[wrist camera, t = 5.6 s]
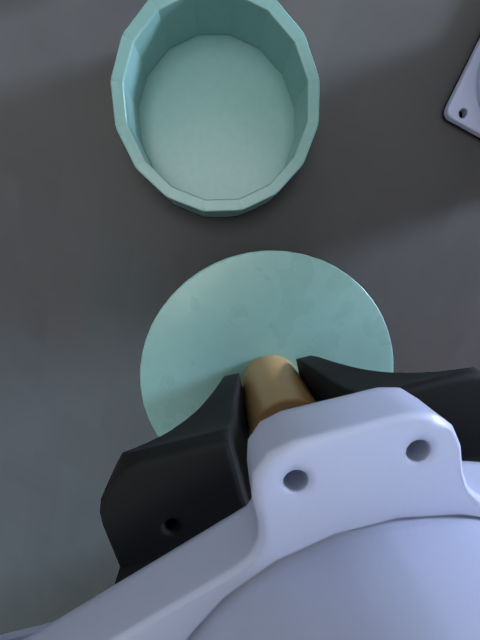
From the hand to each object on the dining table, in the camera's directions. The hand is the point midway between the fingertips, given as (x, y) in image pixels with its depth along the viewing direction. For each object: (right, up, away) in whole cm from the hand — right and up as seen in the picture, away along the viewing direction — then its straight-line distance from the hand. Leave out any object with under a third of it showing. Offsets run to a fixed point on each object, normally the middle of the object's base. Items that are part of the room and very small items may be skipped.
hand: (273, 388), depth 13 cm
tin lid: (0, 0, +1) cm, 1 cm away
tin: (-3, +14, +6) cm, 15 cm away
